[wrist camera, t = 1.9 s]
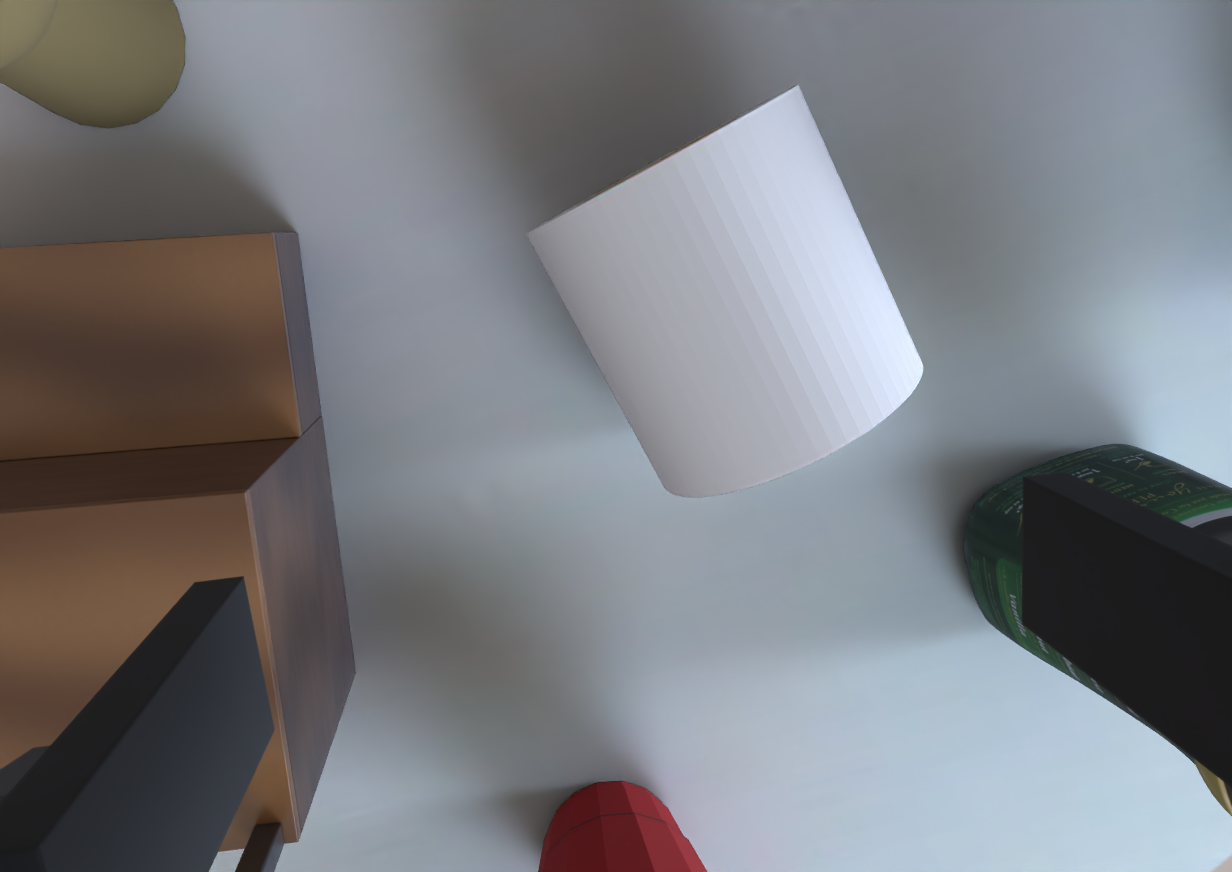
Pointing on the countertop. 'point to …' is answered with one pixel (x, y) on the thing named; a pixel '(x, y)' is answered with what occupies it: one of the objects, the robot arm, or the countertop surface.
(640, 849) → the plastic cup
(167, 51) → the pale yellow rounded piece
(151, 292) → the brown wooden stepped block
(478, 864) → the countertop surface
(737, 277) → the toilet paper
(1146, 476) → the coffee jar
